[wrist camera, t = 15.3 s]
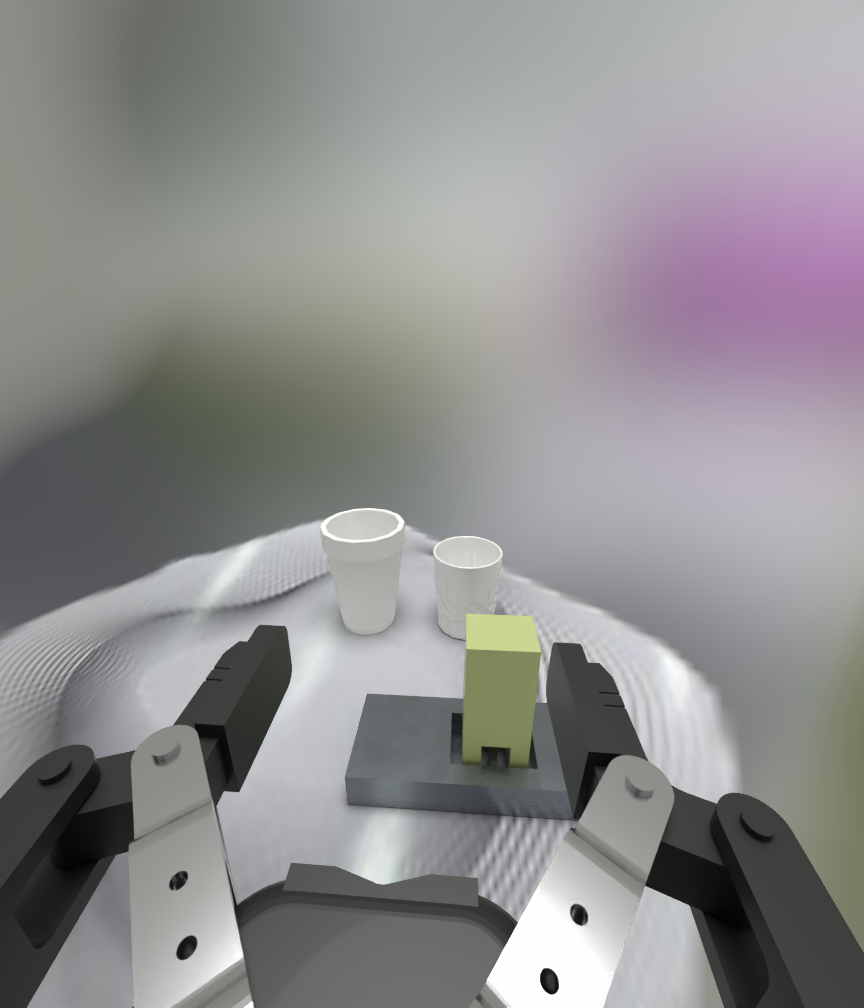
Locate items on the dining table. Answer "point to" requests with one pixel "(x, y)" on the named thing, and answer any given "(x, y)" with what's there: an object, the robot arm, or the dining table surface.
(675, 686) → the dining table surface
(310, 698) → the dining table surface
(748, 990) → the robot arm
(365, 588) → the foam cup
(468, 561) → the white cup
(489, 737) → the olive green rectangular block
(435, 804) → the grey flat block
